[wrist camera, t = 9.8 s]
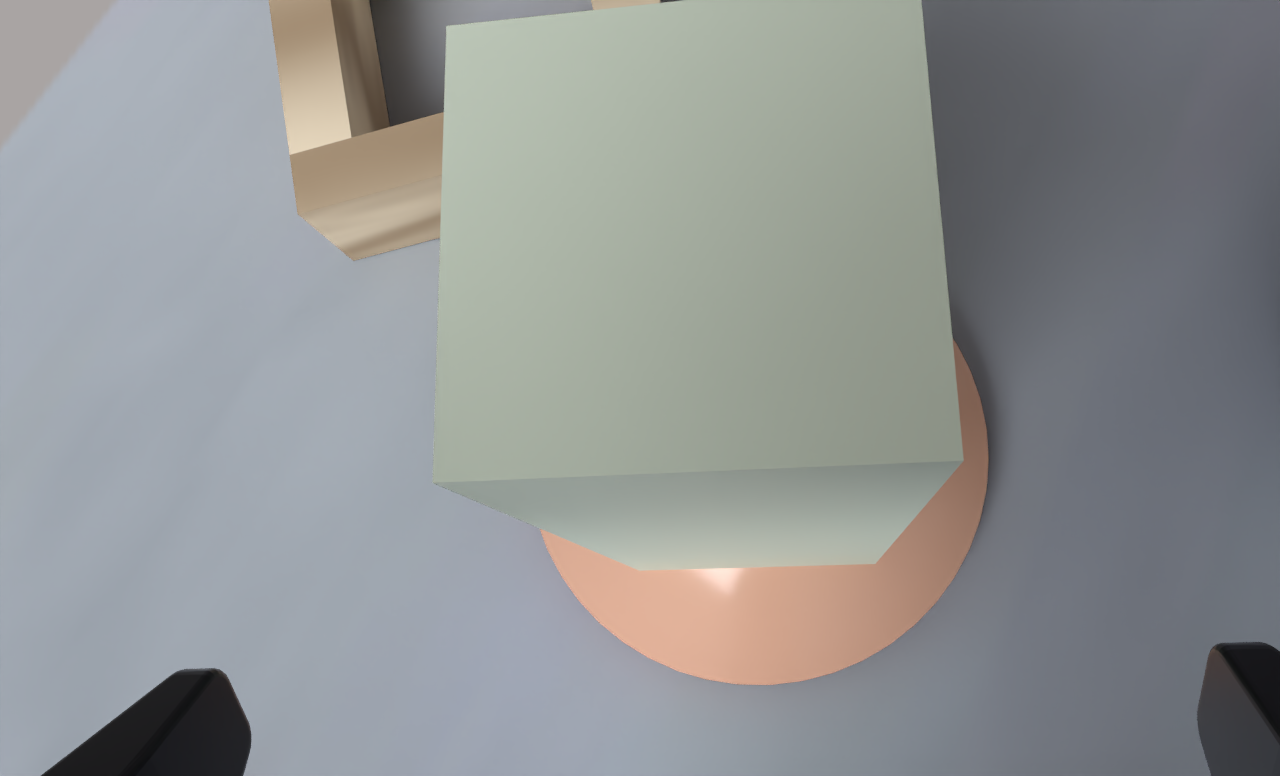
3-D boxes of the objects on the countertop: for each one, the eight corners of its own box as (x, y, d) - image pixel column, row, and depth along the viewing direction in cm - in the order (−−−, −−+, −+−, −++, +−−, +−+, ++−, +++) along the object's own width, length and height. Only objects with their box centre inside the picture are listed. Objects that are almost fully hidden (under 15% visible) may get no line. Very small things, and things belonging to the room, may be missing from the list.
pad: (1055, 347, 23) (1063, 337, 22) (867, 770, 22) (869, 774, 21) (655, 185, 26) (650, 170, 25) (462, 556, 24) (451, 553, 23)
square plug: (875, 563, 22) (963, 461, 9) (639, 570, 23) (432, 483, 10) (859, 334, 23) (919, -26, 11) (635, 348, 24) (446, 26, 11)
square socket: (700, 167, 26) (687, 107, 23) (353, 260, 26) (297, 213, 24) (625, -133, 28) (604, -222, 25) (308, -38, 29) (253, -114, 26)
